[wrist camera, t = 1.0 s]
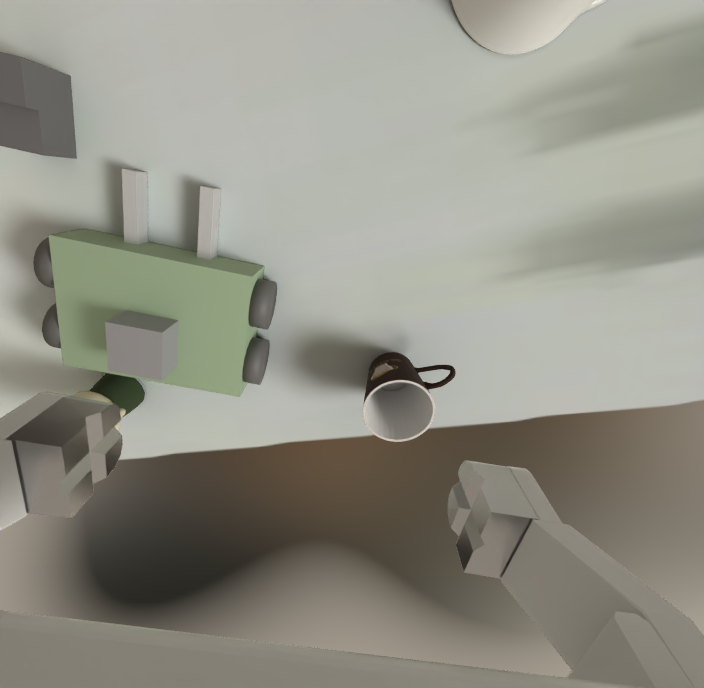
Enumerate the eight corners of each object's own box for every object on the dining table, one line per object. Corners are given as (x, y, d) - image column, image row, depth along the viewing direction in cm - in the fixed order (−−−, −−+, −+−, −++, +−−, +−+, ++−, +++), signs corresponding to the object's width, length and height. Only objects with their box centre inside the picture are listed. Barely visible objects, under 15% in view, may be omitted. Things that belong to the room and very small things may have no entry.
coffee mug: (363, 400, 55) (365, 443, 45) (358, 347, 51) (359, 383, 42) (442, 394, 54) (460, 437, 45) (442, 340, 51) (462, 374, 42)
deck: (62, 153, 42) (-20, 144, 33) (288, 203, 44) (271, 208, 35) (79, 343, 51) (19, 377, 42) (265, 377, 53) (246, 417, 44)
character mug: (105, 415, 56) (37, 478, 44) (79, 376, 53) (-1, 430, 41) (170, 398, 55) (118, 458, 43) (146, 357, 52) (84, 408, 40)
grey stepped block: (22, 64, 39) (-39, 42, 33) (71, 76, 39) (20, 56, 33) (31, 148, 42) (-22, 142, 36) (77, 158, 42) (31, 154, 36)
